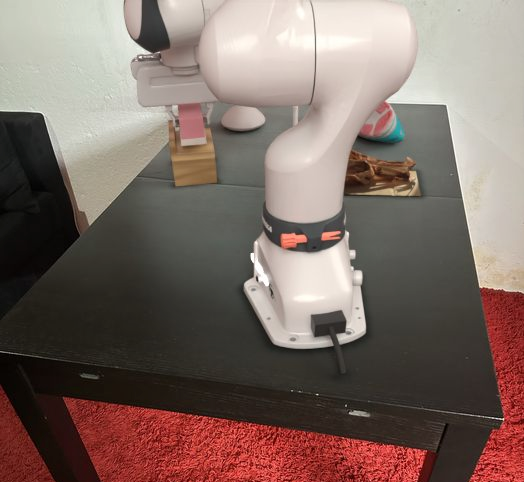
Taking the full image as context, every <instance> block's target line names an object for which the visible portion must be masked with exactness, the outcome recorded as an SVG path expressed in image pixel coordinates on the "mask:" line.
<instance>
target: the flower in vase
mask: <svg viewBox="0 0 524 482" xmlns="http://www.w3.org/2000/svg"><path fill="white" fill-rule="evenodd" d="M265 122H266V117H265V116H264V114H263V113H262V112H261V111H260V110H259V108H253V107H245V106H238V105H232V106H231V107H230V108H229V109H228V110H227V111H226V112H225V113H224V114H223V116H222V118H221V121H220V123H221V125H222V126H223V127H224V128H226V129H228V130H231V131H235V132H249V131H254V130H257V129H258V128H260V127H262V126H264V124H265Z"/></svg>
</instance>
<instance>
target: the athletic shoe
mask: <svg viewBox="0 0 524 482" xmlns="http://www.w3.org/2000/svg"><path fill="white" fill-rule="evenodd" d="M405 134H406V133H405V130H404V128H403V126H402V123H401V121H400V119H399V118H398V116H397V114H396V112H395V110H394V108H393V107H392V105H391V104H390V103H389V102H387V100H386V101H384V102H383V103H382V104H381V105H380V106H379V107H378V108H377V109H376V110H375V111H374V112H373V114H372V115H371V116H370V117H369V119H368V120H367V121H366V123H365V124H364V126H363V127H362V128H361V130H360V132H359V134H358V135H357V137H358V136H359V137H360V138H364V139H366V140H368V141H369V140H370V141H374V142H381V143H391V144H393V143H394V144H396V143H400V142H402V141H403V140H404V139H405V136H406V135H405Z"/></svg>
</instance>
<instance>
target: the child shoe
mask: <svg viewBox="0 0 524 482" xmlns="http://www.w3.org/2000/svg"><path fill="white" fill-rule="evenodd" d="M177 111H178V112H177V114H178V115H177V116H179V124H180V127H179V131H180V138H181V146H188V145H200V144H207V142H206V134H205V129H206V128H205V125H204V123H203V115H202V114H203V110H202V103H196V104H183V105H177Z"/></svg>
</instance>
